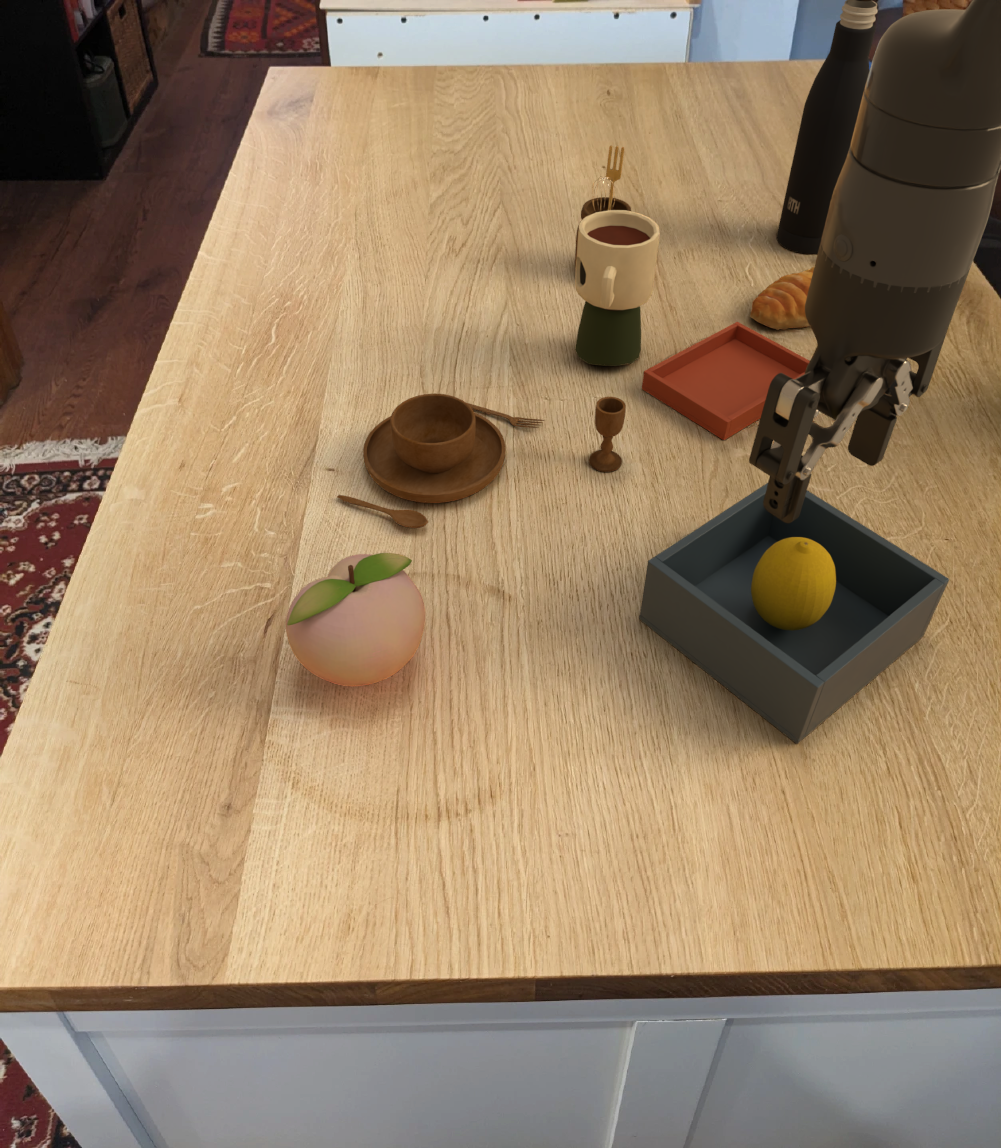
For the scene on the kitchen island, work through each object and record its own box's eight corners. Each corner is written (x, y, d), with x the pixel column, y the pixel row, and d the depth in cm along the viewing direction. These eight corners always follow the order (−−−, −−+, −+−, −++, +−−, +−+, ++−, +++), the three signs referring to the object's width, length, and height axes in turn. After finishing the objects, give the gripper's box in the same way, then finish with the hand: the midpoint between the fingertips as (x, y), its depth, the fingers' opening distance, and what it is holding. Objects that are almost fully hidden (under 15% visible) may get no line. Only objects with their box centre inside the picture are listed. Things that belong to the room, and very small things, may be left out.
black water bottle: (839, 233, 115) (919, -72, 94) (828, 259, 111) (908, -54, 89) (783, 222, 117) (849, -80, 95) (770, 247, 113) (835, -63, 91)
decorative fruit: (360, 744, 66) (344, 645, 59) (277, 679, 70) (252, 578, 63) (457, 660, 71) (453, 559, 64) (375, 603, 75) (362, 502, 68)
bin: (765, 531, 81) (780, 473, 76) (923, 636, 73) (950, 578, 69) (638, 618, 74) (647, 560, 70) (796, 744, 66) (818, 687, 62)
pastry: (777, 343, 99) (785, 309, 97) (732, 312, 103) (738, 278, 101) (847, 316, 103) (856, 282, 100) (800, 287, 107) (808, 254, 104)
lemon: (814, 661, 71) (843, 581, 65) (735, 640, 72) (756, 560, 66) (825, 606, 74) (853, 526, 69) (749, 587, 76) (771, 507, 70)
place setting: (428, 389, 94) (425, 334, 90) (629, 454, 87) (636, 397, 83) (319, 501, 83) (310, 443, 79) (539, 583, 76) (542, 526, 72)
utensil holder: (568, 280, 108) (574, 168, 99) (581, 251, 112) (588, 142, 103) (623, 288, 107) (634, 176, 98) (634, 259, 111) (646, 149, 102)
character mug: (581, 320, 102) (589, 195, 93) (651, 330, 101) (667, 204, 92) (559, 381, 95) (567, 252, 85) (635, 392, 94) (651, 263, 84)
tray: (733, 339, 100) (737, 321, 98) (816, 384, 95) (821, 366, 93) (641, 389, 94) (643, 370, 93) (723, 440, 89) (727, 422, 87)
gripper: (876, 322, 47) (799, 569, 58) (1036, 229, 53) (939, 468, 65) (750, 260, 51) (701, 503, 62) (913, 180, 57) (842, 414, 69)
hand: (823, 485), depth 64 cm, fingers open, 8 cm apart
